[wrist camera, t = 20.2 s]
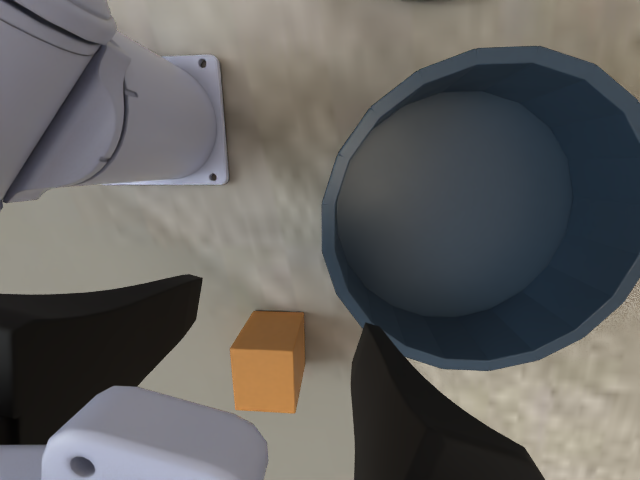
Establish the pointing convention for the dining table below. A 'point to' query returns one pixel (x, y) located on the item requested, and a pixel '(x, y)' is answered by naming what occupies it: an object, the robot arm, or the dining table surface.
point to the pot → (488, 208)
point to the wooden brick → (269, 362)
